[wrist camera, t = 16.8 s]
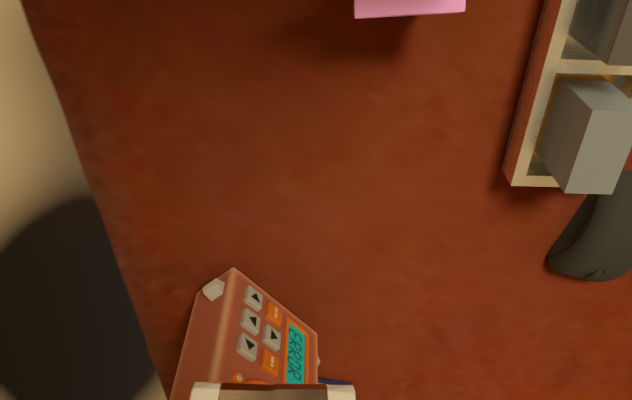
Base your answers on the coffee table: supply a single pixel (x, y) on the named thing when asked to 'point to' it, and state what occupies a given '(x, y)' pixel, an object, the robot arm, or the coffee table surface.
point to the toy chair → (405, 7)
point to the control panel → (243, 339)
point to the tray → (566, 73)
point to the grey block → (586, 135)
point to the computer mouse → (598, 236)
